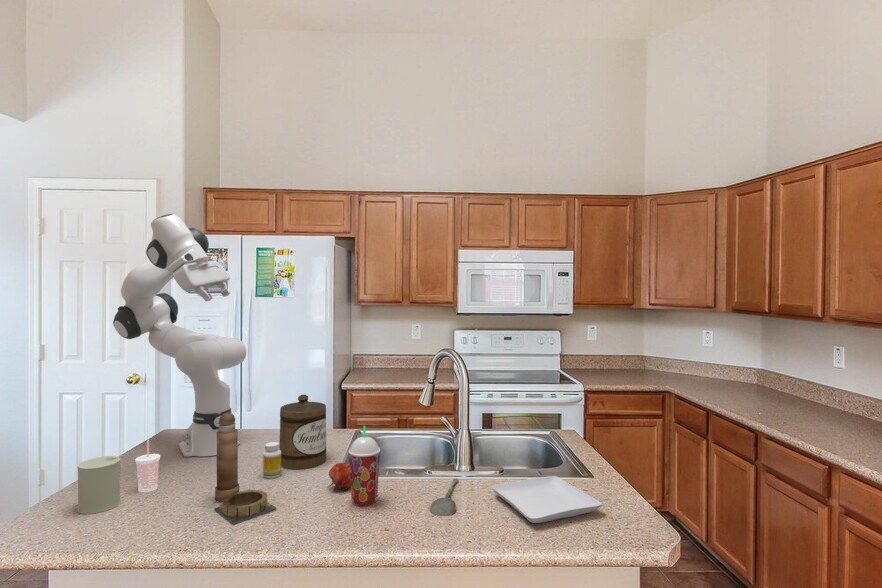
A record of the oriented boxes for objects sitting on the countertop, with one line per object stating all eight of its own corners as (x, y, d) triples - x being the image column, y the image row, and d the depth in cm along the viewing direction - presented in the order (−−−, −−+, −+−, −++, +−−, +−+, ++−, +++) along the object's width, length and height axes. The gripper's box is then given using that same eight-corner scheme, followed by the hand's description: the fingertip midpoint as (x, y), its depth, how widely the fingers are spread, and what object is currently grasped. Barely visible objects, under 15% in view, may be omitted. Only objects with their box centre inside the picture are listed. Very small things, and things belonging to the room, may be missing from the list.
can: (127, 503, 127) (127, 458, 127) (87, 517, 119) (87, 469, 119) (109, 495, 131) (109, 452, 131) (70, 508, 123) (70, 462, 123)
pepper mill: (211, 497, 130) (211, 413, 130) (233, 491, 134) (233, 409, 134) (220, 504, 126) (220, 417, 126) (243, 497, 130) (243, 412, 130)
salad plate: (489, 496, 132) (489, 484, 132) (555, 485, 139) (555, 473, 139) (530, 532, 112) (530, 518, 112) (604, 517, 120) (604, 503, 120)
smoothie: (385, 496, 131) (385, 423, 131) (372, 510, 123) (372, 432, 123) (356, 493, 133) (356, 421, 133) (342, 506, 125) (342, 429, 125)
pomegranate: (329, 501, 133) (357, 481, 132) (314, 479, 134) (342, 458, 133) (339, 493, 140) (366, 474, 139) (326, 472, 141) (352, 452, 141)
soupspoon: (426, 519, 120) (452, 523, 119) (427, 506, 120) (453, 510, 119) (445, 482, 142) (467, 485, 140) (445, 470, 141) (467, 473, 140)
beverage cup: (136, 495, 131) (136, 444, 131) (133, 488, 136) (133, 439, 136) (162, 489, 135) (162, 440, 135) (158, 483, 140) (158, 435, 140)
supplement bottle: (260, 474, 146) (260, 443, 146) (277, 470, 150) (277, 440, 150) (266, 480, 142) (266, 448, 142) (284, 476, 146) (284, 444, 146)
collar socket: (214, 510, 122) (214, 498, 122) (256, 497, 130) (256, 486, 130) (233, 525, 115) (233, 512, 115) (276, 509, 123) (276, 498, 123)
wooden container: (302, 473, 148) (302, 401, 148) (269, 464, 155) (269, 396, 155) (335, 458, 161) (335, 393, 161) (303, 451, 168) (303, 388, 168)
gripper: (205, 263, 159) (229, 298, 159) (162, 269, 139) (190, 308, 139) (219, 252, 157) (243, 287, 158) (178, 257, 137) (206, 297, 138)
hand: (218, 297), depth 149 cm, fingers open, 8 cm apart
